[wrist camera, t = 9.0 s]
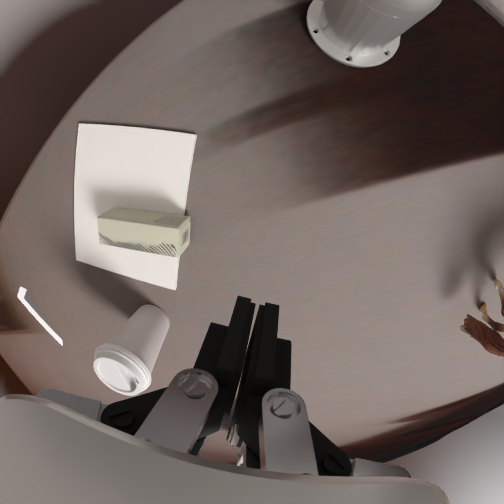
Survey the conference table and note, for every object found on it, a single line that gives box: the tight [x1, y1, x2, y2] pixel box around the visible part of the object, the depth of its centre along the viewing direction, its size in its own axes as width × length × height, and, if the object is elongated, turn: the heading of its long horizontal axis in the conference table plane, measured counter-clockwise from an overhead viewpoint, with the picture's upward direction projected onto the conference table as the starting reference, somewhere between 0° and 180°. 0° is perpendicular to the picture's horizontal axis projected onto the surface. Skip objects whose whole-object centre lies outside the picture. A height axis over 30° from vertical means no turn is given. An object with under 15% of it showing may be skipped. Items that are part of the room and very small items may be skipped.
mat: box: [74, 123, 197, 290], centre depth 41 cm, size 24×20×1 cm
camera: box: [227, 424, 244, 467], centre depth 55 cm, size 14×8×10 cm, turn 167°
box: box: [97, 207, 190, 258], centre depth 39 cm, size 5×4×13 cm
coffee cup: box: [94, 305, 170, 396], centre depth 43 cm, size 10×10×15 cm
